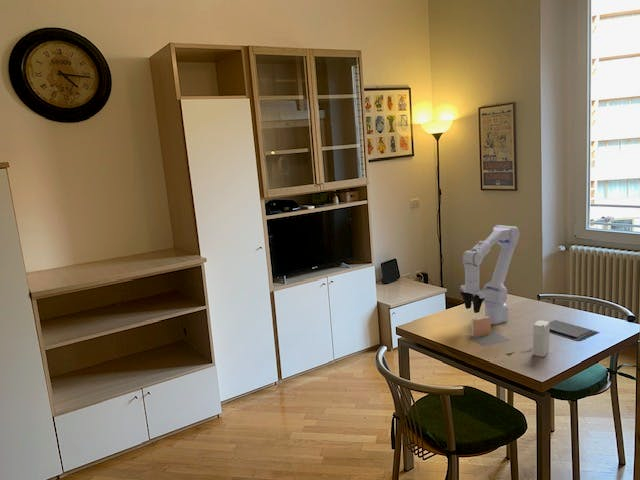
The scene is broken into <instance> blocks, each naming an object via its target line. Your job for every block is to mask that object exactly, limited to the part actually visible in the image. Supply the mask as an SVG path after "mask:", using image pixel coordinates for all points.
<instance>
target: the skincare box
mask: <svg viewBox="0 0 640 480" xmlns="http://www.w3.org/2000/svg"><path fill="white" fill-rule="evenodd" d="M550 322H551V321H548V320H547V321H546V320H537V321H536V322H535V323H534V324H533V332H532V355H533V356H535V357H536V356H537V357H541V358H542V357H543V358H544V357H545V356H546V355H547V354H548V353H549V350H550V349H549V348H550V333H549V329H550Z"/></svg>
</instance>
